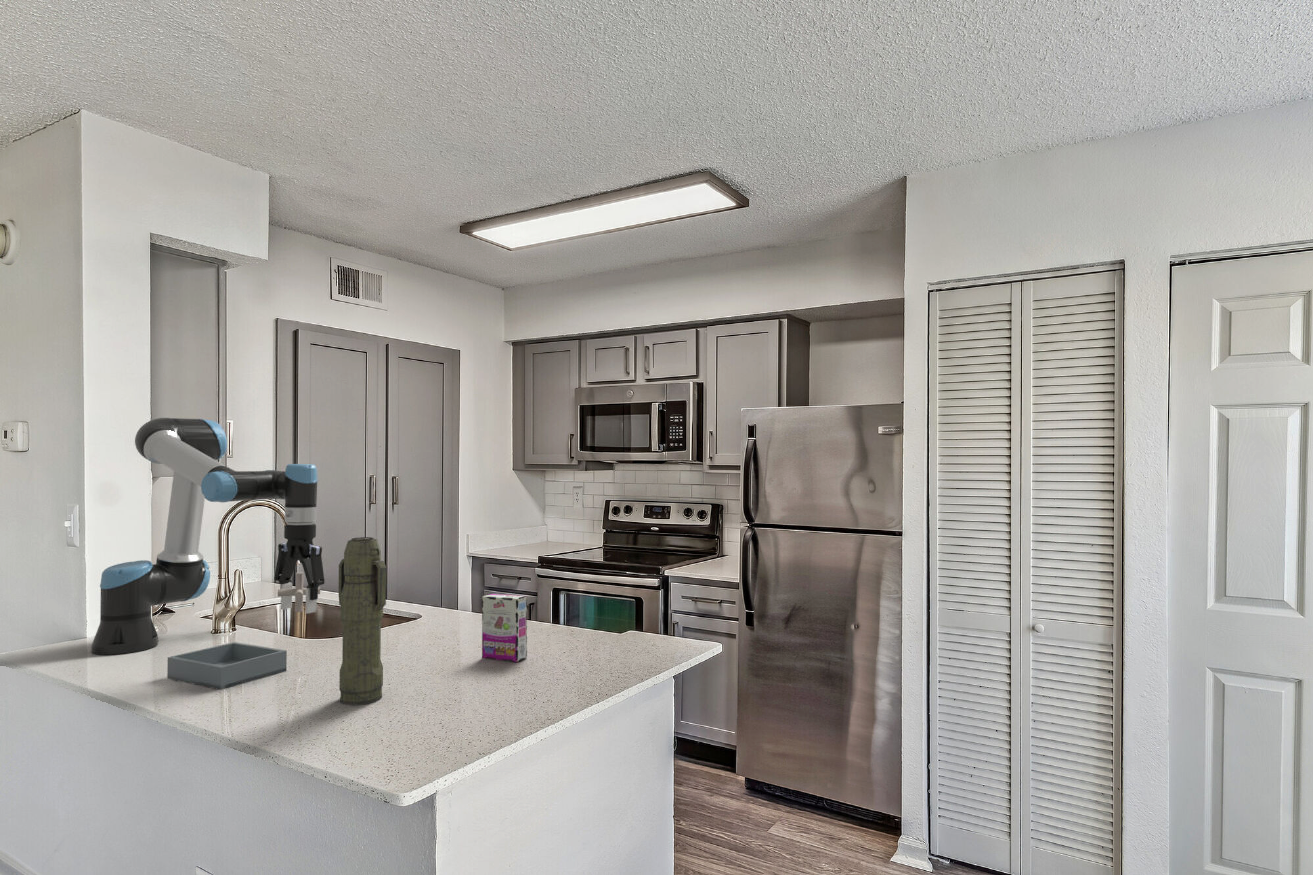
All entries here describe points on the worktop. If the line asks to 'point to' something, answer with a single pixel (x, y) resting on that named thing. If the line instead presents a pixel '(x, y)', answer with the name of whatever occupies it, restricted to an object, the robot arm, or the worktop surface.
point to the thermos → (361, 621)
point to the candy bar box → (504, 627)
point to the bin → (226, 665)
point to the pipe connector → (296, 592)
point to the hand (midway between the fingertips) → (298, 610)
